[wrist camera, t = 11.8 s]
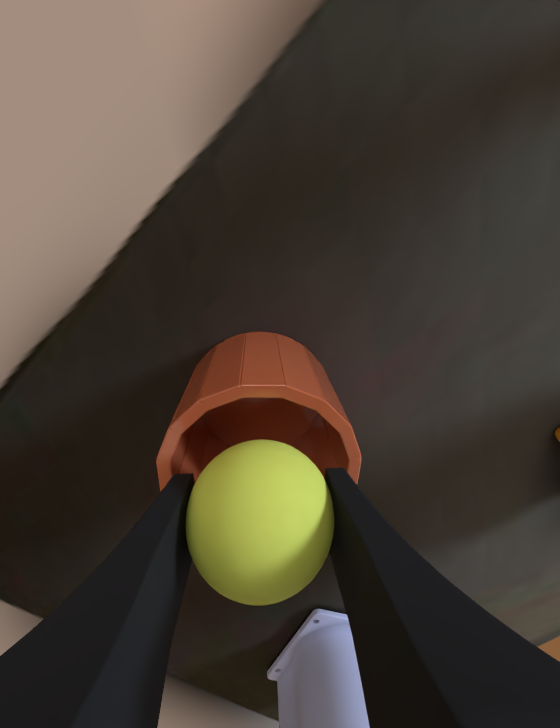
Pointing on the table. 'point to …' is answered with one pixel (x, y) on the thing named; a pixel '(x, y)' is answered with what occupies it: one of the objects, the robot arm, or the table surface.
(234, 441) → the pot
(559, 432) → the bird rattle
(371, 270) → the table surface
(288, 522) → the ball
